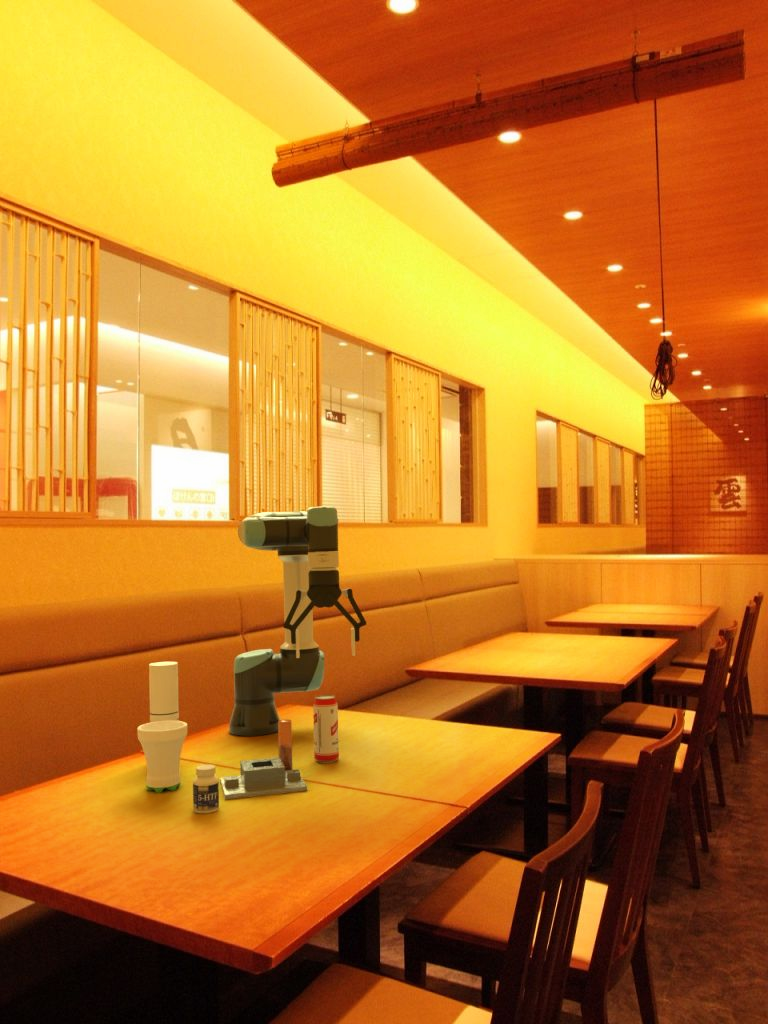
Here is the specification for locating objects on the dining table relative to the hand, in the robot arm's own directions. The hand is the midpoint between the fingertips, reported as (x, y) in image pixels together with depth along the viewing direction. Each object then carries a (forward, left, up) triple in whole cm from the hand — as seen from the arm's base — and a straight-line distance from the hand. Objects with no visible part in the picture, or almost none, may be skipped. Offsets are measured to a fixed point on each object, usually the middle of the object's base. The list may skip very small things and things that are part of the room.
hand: (325, 656), depth 204 cm
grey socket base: (+9, -17, -27) cm, 33 cm away
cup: (+2, -39, -27) cm, 48 cm away
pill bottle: (+22, -31, -27) cm, 46 cm away
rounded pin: (-2, -10, -27) cm, 29 cm away
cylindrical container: (-22, -38, -27) cm, 52 cm away
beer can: (-8, +1, -27) cm, 29 cm away
